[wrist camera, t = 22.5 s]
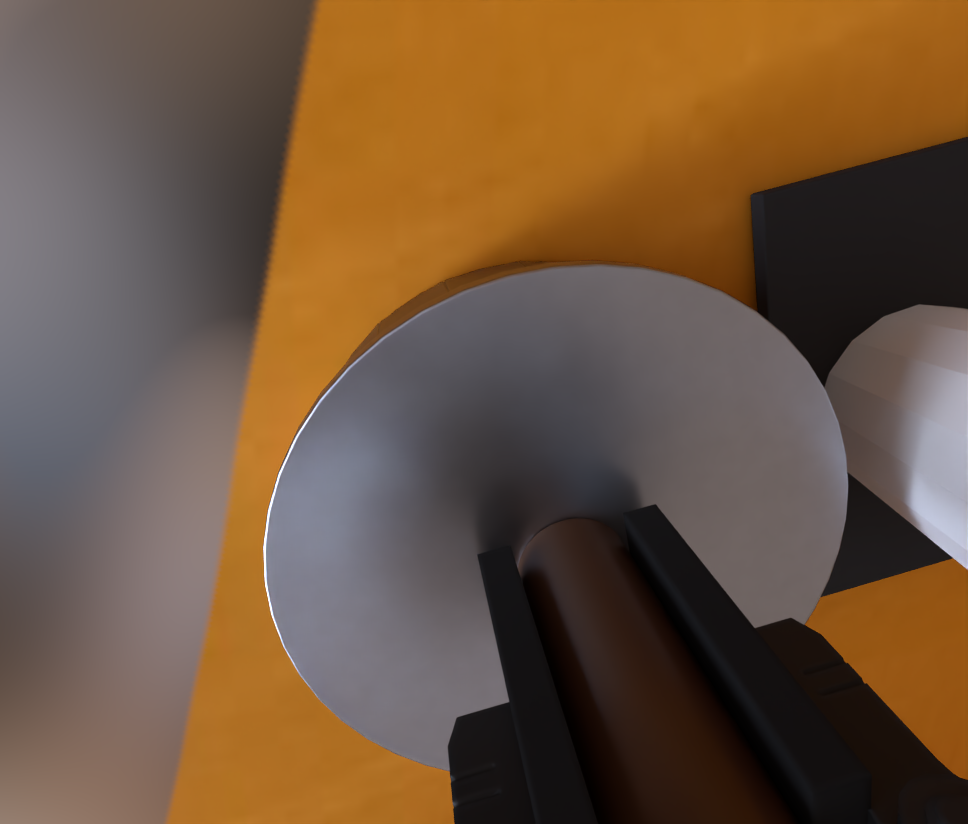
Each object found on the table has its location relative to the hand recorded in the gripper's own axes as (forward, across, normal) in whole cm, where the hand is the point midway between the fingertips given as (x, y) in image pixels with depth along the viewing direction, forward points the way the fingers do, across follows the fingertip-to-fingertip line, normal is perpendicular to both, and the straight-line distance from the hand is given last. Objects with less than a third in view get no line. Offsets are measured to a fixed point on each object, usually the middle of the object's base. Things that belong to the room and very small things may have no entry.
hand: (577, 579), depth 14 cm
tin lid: (+1, 0, 0) cm, 1 cm away
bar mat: (+5, +12, 0) cm, 13 cm away
